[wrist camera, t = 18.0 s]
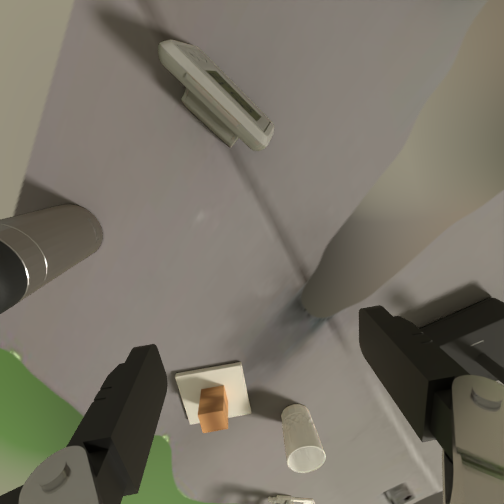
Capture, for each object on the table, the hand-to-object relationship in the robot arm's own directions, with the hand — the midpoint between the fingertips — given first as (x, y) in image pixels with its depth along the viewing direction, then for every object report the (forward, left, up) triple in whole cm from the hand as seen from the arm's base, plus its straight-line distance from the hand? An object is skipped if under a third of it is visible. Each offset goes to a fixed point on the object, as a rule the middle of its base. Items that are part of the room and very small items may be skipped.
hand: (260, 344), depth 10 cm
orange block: (-12, -40, -35) cm, 55 cm away
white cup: (+5, -51, -36) cm, 63 cm away
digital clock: (+1, +15, -36) cm, 39 cm away
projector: (+43, -38, -37) cm, 68 cm away
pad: (-12, -40, -36) cm, 55 cm away
